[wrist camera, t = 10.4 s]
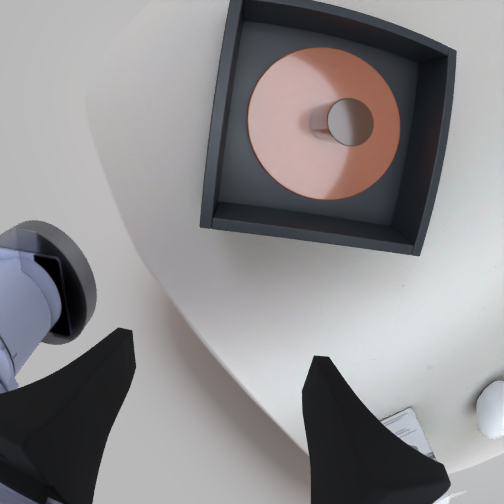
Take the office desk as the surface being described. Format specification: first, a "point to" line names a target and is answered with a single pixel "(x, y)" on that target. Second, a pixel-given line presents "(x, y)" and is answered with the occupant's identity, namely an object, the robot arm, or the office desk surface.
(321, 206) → the charcoal square tray
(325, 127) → the knobbed copper disc
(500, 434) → the plain white apple
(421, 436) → the ink box
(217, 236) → the office desk surface
